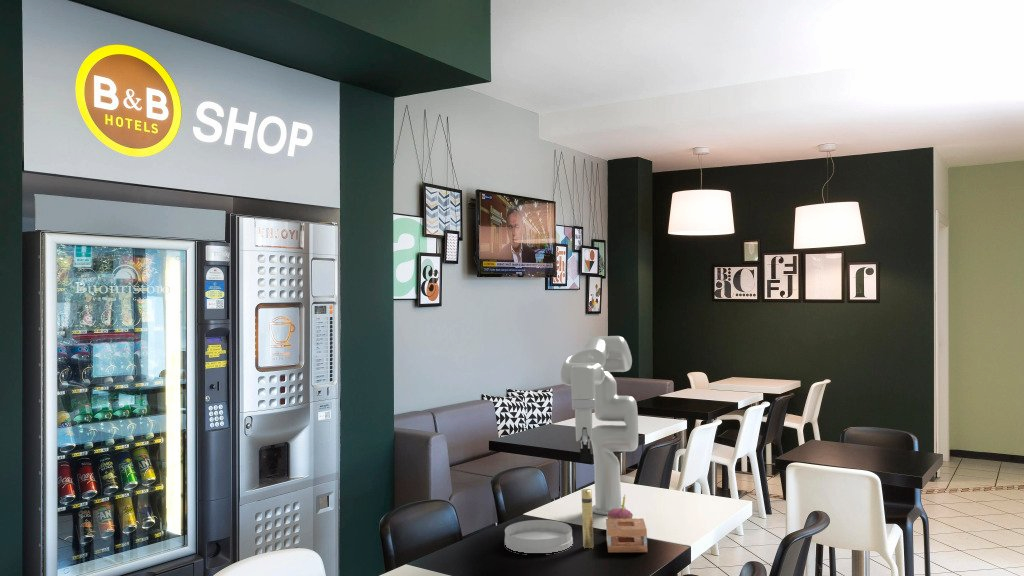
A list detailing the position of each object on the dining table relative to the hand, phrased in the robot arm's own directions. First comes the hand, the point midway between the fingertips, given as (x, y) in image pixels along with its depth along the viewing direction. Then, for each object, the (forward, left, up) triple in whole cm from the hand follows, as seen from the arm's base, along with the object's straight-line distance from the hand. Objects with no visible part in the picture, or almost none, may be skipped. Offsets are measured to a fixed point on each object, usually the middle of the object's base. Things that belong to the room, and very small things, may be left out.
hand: (585, 458), depth 243 cm
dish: (-4, -16, -29) cm, 33 cm away
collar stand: (-1, +12, -28) cm, 31 cm away
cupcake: (-19, +11, -28) cm, 36 cm away
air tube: (0, 0, -28) cm, 28 cm away
